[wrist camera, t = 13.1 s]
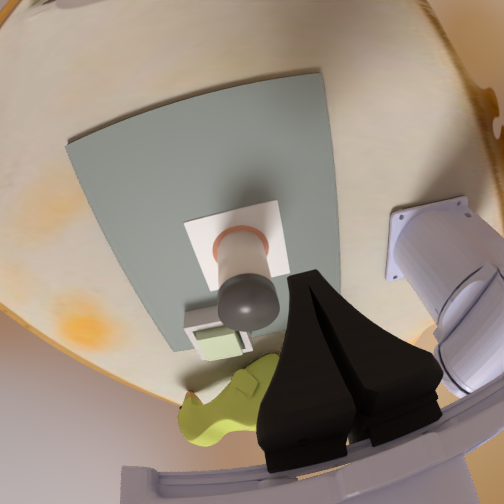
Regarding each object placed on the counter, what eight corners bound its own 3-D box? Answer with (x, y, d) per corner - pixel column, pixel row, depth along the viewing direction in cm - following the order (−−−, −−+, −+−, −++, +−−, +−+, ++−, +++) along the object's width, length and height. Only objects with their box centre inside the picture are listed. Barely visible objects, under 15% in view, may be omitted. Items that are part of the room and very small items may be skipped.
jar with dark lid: (260, 223, 22) (275, 282, 17) (268, 263, 25) (283, 324, 19) (210, 234, 22) (210, 296, 17) (222, 273, 25) (226, 336, 19)
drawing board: (319, 72, 17) (332, 74, 15) (338, 312, 30) (346, 330, 28) (67, 144, 17) (52, 155, 15) (174, 348, 31) (172, 367, 29)
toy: (278, 297, 36) (160, 393, 35) (367, 388, 23) (198, 503, 21) (299, 323, 40) (191, 410, 38) (379, 405, 26) (233, 507, 24)
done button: (232, 312, 27) (233, 333, 25) (240, 334, 29) (242, 354, 27) (196, 319, 27) (196, 340, 25) (207, 341, 29) (208, 361, 27)
